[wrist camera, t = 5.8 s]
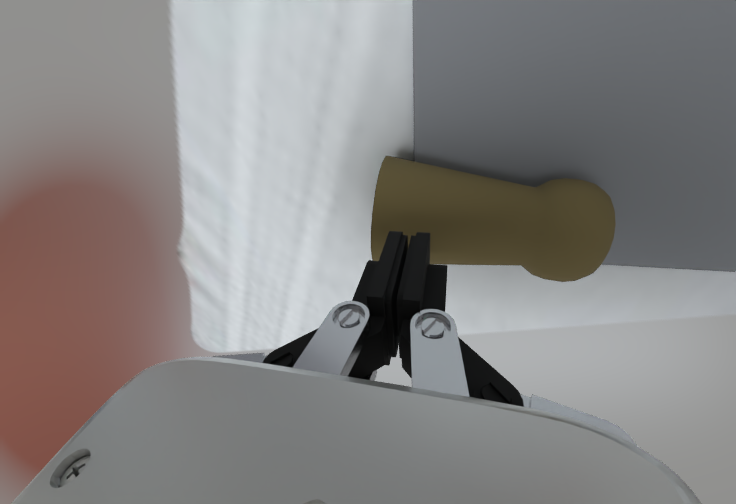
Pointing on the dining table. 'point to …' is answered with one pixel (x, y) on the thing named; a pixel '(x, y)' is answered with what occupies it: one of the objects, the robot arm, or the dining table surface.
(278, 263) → the dining table surface
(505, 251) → the cork
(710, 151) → the rubber mat
